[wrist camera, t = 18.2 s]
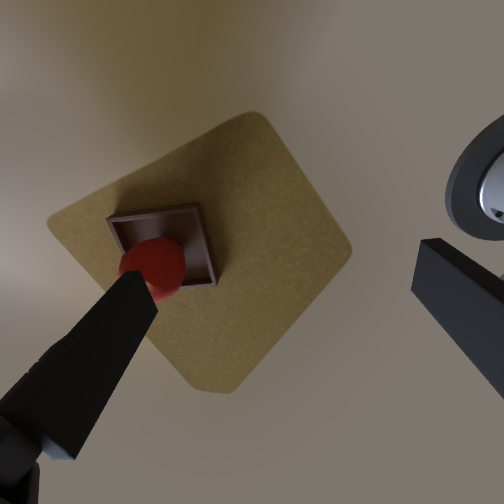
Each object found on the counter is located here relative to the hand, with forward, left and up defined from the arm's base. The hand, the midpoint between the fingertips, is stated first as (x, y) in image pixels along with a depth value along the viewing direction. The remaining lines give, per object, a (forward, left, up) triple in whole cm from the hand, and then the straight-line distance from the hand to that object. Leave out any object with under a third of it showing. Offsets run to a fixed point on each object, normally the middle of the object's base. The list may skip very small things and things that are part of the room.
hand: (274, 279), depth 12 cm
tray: (+21, +13, -32) cm, 40 cm away
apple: (+21, +13, -31) cm, 40 cm away
